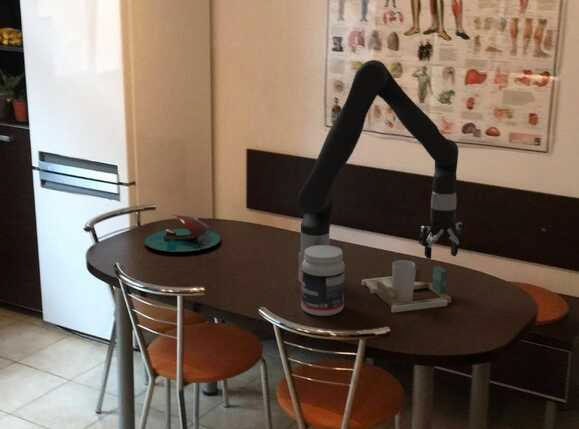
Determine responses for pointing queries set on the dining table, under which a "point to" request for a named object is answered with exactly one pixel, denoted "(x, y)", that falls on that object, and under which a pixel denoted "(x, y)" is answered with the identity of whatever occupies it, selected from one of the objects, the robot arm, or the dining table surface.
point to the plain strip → (390, 280)
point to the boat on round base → (184, 237)
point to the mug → (403, 280)
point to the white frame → (436, 286)
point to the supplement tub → (323, 280)
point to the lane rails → (409, 306)
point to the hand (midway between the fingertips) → (441, 256)
